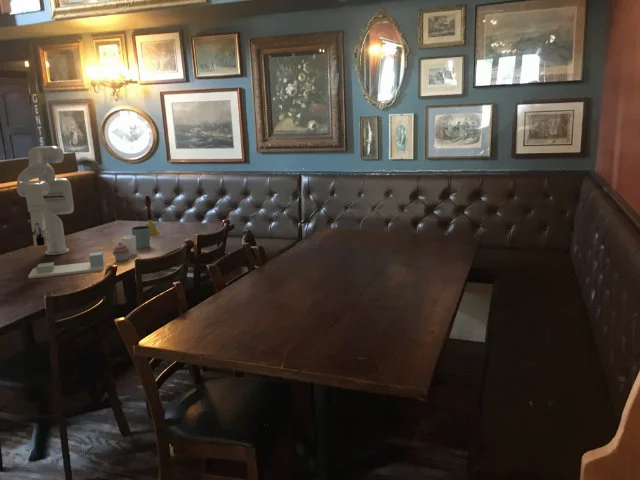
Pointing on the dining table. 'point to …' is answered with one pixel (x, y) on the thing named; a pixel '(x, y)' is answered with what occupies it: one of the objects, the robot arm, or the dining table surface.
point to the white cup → (130, 243)
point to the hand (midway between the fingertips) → (41, 243)
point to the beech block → (46, 239)
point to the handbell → (150, 223)
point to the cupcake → (121, 252)
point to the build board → (62, 269)
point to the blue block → (96, 259)
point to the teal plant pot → (142, 236)
